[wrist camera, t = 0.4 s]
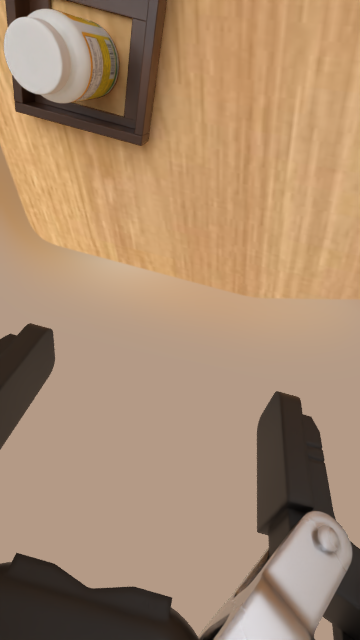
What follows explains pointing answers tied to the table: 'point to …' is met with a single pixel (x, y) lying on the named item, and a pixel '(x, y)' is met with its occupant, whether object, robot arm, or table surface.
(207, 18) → the table surface
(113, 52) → the supplement bottle
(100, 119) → the tray
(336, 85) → the table surface
